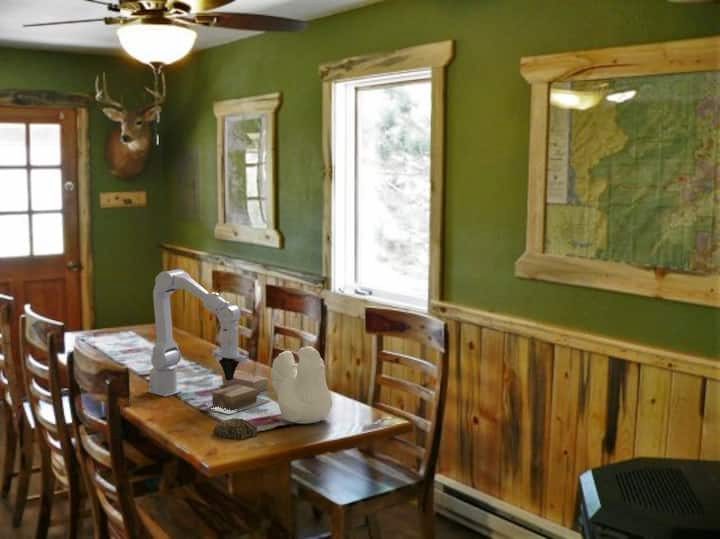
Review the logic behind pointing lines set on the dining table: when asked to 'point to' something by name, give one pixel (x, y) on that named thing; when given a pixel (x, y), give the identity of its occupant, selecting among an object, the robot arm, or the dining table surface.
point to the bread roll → (235, 429)
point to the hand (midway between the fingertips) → (229, 379)
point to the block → (234, 397)
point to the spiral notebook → (259, 401)
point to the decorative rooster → (301, 386)
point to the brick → (247, 381)
